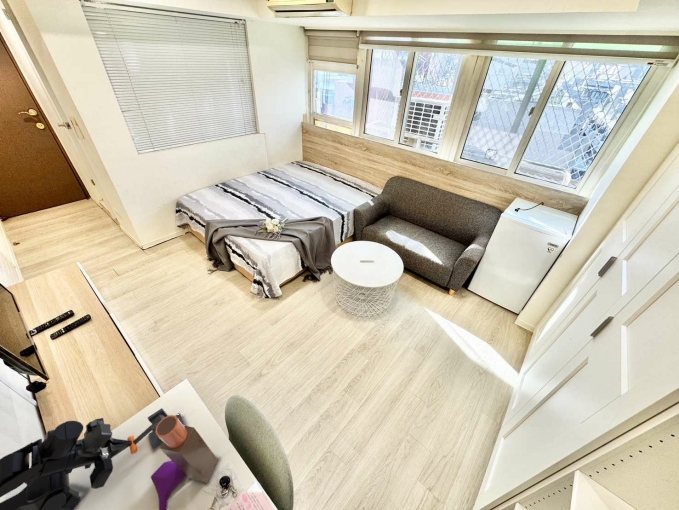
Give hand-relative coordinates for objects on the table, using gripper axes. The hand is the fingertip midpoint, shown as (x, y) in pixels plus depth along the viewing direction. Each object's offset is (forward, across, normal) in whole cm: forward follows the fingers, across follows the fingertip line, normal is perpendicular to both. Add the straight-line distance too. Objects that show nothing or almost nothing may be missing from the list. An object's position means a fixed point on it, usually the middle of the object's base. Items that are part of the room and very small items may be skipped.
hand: (131, 443), depth 85 cm
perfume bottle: (+7, -14, -5) cm, 16 cm away
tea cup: (-3, -20, -22) cm, 30 cm away
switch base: (+11, 0, -1) cm, 11 cm away
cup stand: (+14, -20, -5) cm, 25 cm away
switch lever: (+4, 0, -3) cm, 5 cm away
